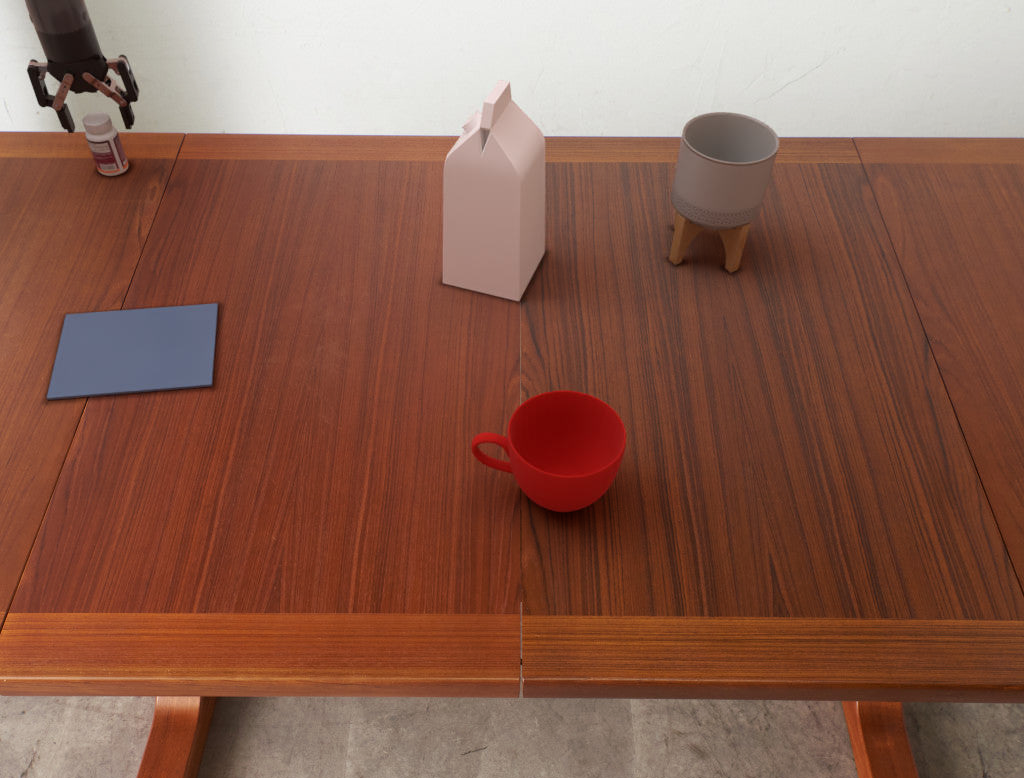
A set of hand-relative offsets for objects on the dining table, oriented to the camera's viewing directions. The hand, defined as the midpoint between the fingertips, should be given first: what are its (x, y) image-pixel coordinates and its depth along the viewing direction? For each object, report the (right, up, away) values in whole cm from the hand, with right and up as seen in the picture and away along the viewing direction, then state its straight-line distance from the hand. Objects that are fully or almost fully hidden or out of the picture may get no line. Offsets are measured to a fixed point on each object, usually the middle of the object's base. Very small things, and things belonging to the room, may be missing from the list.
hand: (100, 128), depth 138 cm
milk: (+61, -24, -8) cm, 66 cm away
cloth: (+14, -38, -21) cm, 46 cm away
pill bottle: (0, -4, +5) cm, 7 cm away
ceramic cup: (+67, -57, -33) cm, 94 cm away
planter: (+92, -20, -4) cm, 94 cm away
